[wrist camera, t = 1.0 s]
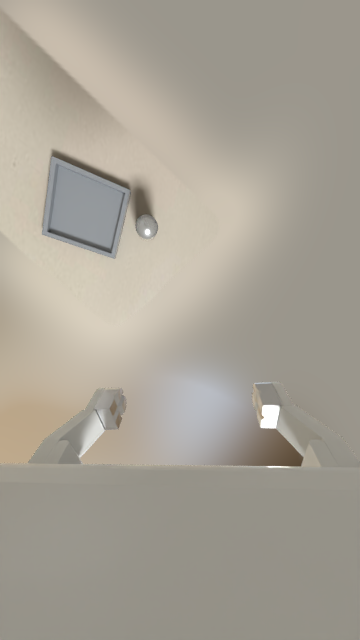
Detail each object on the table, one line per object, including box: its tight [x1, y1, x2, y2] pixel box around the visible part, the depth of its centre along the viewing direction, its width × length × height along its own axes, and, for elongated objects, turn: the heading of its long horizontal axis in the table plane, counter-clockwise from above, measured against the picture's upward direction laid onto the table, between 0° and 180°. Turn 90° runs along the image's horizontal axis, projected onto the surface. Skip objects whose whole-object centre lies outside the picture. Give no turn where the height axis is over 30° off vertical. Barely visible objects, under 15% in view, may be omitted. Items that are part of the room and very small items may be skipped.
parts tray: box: [42, 156, 131, 259], centre depth 38 cm, size 14×14×2 cm
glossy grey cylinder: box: [136, 214, 158, 241], centre depth 38 cm, size 4×4×8 cm
